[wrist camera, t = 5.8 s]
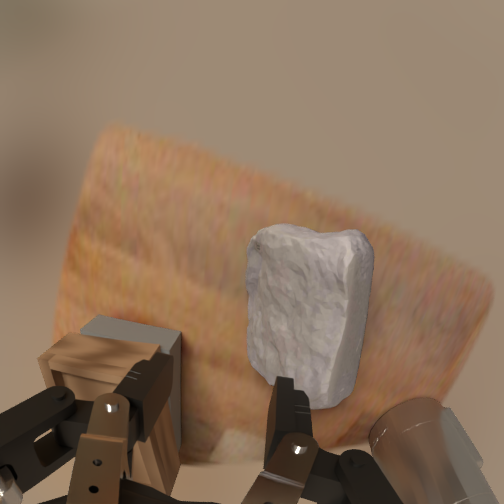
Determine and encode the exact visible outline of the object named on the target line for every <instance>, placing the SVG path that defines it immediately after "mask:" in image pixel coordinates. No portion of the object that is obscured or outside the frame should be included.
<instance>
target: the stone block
mask: <svg viewBox="0 0 504 504" xmlns="http://www.w3.org/2000/svg"><path fill="white" fill-rule="evenodd" d="M247 258H248V265H247V270H246V289H247V292H248V294H249V303H248V319H249V325H248V328H247V351H248V358H249V361H250V363H251V365H252V367H253V368H254V369H256V370H257V371H258V372H259V373H260V374H261V375H262V376H263V377H264V378H265V379H266V381H267V382H268V383H269V384H270V385H272V386H274V384H275V380H276V377H277V376H282V377H289V378H293V379H294V389H295V390H303V391H304V392H305V393H306V395H307V396H308V397H309V402H310V409H324V408H331V407H335V406H337V405H338V404H339V403H340V402H341V401H342V400H343V399H345V398H346V397H348V396H349V395H350V394H351V392H352V391H353V389H354V385H355V382H356V377H357V372H358V368H359V362H360V357H361V351H362V346H363V339H364V333H365V327H366V320H367V315H368V304H369V296H370V292H371V284H372V275H373V270H374V251H373V247H372V246H371V244H370V242H369V241H368V239H367V237H366V236H365V234H363V233H362V232H360V231H359V230H357V229H356V230H345V231H342V232H331V233H330V232H328V233H319V232H316V231H314V230H311V229H309V228H306V227H299V226H296V225H291V224H275V225H273V226H270V227H266V228H263V229H261V230H259V231H258V232H257V235H255V236H253V237H252V238H251V241H250V243H249V245H248V247H247Z"/></svg>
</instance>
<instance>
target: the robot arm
mask: <svg viewBox="0 0 504 504" xmlns="http://www.w3.org/2000/svg"><path fill="white" fill-rule="evenodd" d="M173 364H174V357H173V355H169V354H165V353H161V352H156V353H155V354H154V356H153V357H152V358H151V360H150V361H149V360H145V359H143V360H141V361H139V362H137V363H135V364H134V365H133V367H132V368H131V369H130V371H129V372H128V373H127V374H126V377H124V378H123V379H122V381H121V382H120V383H119V385H118V386H117V387H116V388H115V390H114V391H113V392H112V393H105V394H102V395H100V396H98V397H97V398H96V399H95V401H86V400H79V399H76V398H75V394H74V392H73V391H72V390H71V389H69V388H67V387H64V386H52V387H49V388H47V389H46V390H44V391H42V392H40V393H38V394H36V395H34V396H33V397H31V398H29V399H27V400H25V401H23V402H21V403H20V404H18V405H16V406H14V407H12V408H10V409H9V410H7V411H5V412H3V413H1V414H0V504H21V502H22V499H23V493H25V492H26V491H28V490H29V489H31V488H32V487H33V486H35V485H36V484H38V483H39V482H40V481H42V480H43V479H45V478H46V477H47V476H49V475H50V474H51V473H53V472H54V471H56V470H57V469H59V468H60V467H61V466H63V465H64V464H65V463H66V462H68V461H69V460H71V459H72V458H73V457H75V461H74V466H73V470H72V475H71V480H70V486H69V491H68V495H65V496H62V497H59V498H56V499H52V500H49V501H46V502H42V503H39V504H219V503H214V502H188V501H187V502H186V501H179V500H176V499H174V498H172V497H170V496H168V495H166V494H164V493H162V492H160V491H158V490H156V489H154V488H153V487H150V486H147V485H144V484H140V483H137V482H134V481H133V460H134V445H135V443H136V442H137V441H140V442H143V443H145V442H146V441H147V439H148V437H149V435H150V433H151V431H152V429H153V427H154V425H155V423H156V421H157V419H158V417H159V415H160V413H161V412H162V410H163V408H164V406H165V404H166V402H167V400H168V398H169V396H170V394H171V390H172V384H173ZM310 413H311V412H310V402H309V397H308V396H307V395H306V393H305V392H304V391H303V390H295V389H294V379H293V378H289V377H282V376H277V377H276V380H275V384H274V388H273V392H272V397H271V401H270V405H269V410H268V419H267V432H266V444H265V456H264V468H263V469H265V470H264V471H263V472H260V474H259V475H258V477H257V479H256V480H255V482H254V483H253V485H252V487H251V488H250V490H249V491H248V493H247V495H246V496H245V498H244V499H243V501H242V502H241V504H297V503H298V501H299V498H300V497H301V498H304V499H307V500H310V501H314V502H317V504H499V502H498V500H497V499H496V497H495V495H494V493H493V491H492V490H491V488H490V486H489V484H488V482H487V481H486V479H485V477H484V475H483V473H482V471H481V470H480V468H481V467H482V465H483V459H482V457H481V456H480V454H479V452H478V451H477V449H476V447H475V446H474V444H473V443H472V441H471V439H470V438H469V436H468V435H467V433H466V431H465V430H464V428H463V427H462V425H461V424H460V422H459V421H458V419H457V417H456V416H455V414H454V413H453V411H452V410H451V408H445V407H443V406H442V405H441V404H440V402H438V401H436V400H435V399H431V398H418V399H412V400H409V401H406V402H404V403H402V404H400V405H398V406H396V407H394V408H393V409H391V410H389V411H388V412H387V413H386V414H384V415H383V416H382V417H381V418H380V419H379V420H378V421H377V422H376V424H375V425H374V427H373V428H372V430H371V433H370V436H369V444H370V447H371V452H372V456H373V457H372V456H371V455H370V454H368V453H366V452H365V451H362V450H356V449H352V450H347V451H345V452H343V453H342V454H341V455H336V454H333V453H329V452H327V451H324V450H323V449H321V448H320V447H319V445H318V443H317V441H316V440H315V439H314V438H313V433H312V422H311V414H310ZM49 429H52V431H51V432H50V433H48V434H47V435H45V436H44V437H42V438H41V439H39V440H37V441H36V442H34V441H35V439H36V438H37V437H38V436H40V435H41V434H43V433H45V432H46V431H48V430H49Z"/></svg>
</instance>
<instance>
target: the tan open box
mask: <svg viewBox="0 0 504 504" xmlns="http://www.w3.org/2000/svg"><path fill="white" fill-rule="evenodd" d="M156 352H161V349H160V344H152V343H143V342H134V341H126V340H118V339H110V338H103V337H97V336H90V335H84V334H78V333H72V332H69V333H68V334H67V335H66V336H64V337H63V338H62V339H61V340H59V341H58V342H57V343H56V344H54V345H53V346H52V347H51V348H49V349H48V350H47V351H46V352H44V353H43V354H42V355H41V356H40V357H38V362H39V366H40V369H41V372H42V375H43V378H44V381H45V384H46V387H47V388H49V387H52V386H64V387H67V388H69V389H71V390H72V391H73V392H74V394H75V398H76V399H79V400H86V401H95V399H96V398H97V397H98V396H100V395H102V394H105V393H112V392H113V391H114V390H115V388H116V387H117V386H118V385H119V383H120V382H121V381H122V379H123V378H124V377H126V374H127V373H128V372H129V371H130V369H131V368H132V367H133V365H134V364H135V363H137V362H139V361H141V360H143V359H145V360H149V361H150V360H151V358H152V357H153V356H154V354H155V353H156ZM180 465H181V464H180V460H179V455H178V450H177V445H176V440H175V435H174V430H173V425H172V419H171V414H170V408H169V403H168V400H167V402H166V404H165V406H164V408H163V410H162V412H161V413H160V415H159V417H158V419H157V421H156V423H155V425H154V427H153V429H152V431H151V433H150V435H149V437H148V439H147V441H146V442H145V443H143V442H140V441H137V442H136V443H135V445H134V460H133V481H134V482H137V483H140V484H144V485H147V486H150V487H153V488H154V489H156V490H158V491H160V492H162V493H164V494H166V495H168V496H170V495H171V492H172V489H173V486H174V483H175V480H176V477H177V474H178V471H179V468H180Z"/></svg>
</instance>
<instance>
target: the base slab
mask: <svg viewBox="0 0 504 504" xmlns="http://www.w3.org/2000/svg"><path fill="white" fill-rule="evenodd" d="M80 331H81V334H84V335H90V336H97V337H103V338H110V339H118V340H126V341H134V342H143V343H152V344H160V349H161V353H165V354H169V355H173V357H174V364H173V384H172V390H171V394H170V396H169V398H168V403H169V408H170V414H171V419H172V425H173V430H174V435H175V440H176V445H177V450H178V452H179V449H180V447H181V331H176V330H171V329H166V328H160V327H155V326H150V325H145V324H140V323H135V322H130V321H126V320H121V319H116V318H112V317H107V316H103V315H98V316H96V317H95V318H94V319H93V320H91V321H90V322H89V323H88V324H86V325H85V326H84V327H83V328H81V329H80Z"/></svg>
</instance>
